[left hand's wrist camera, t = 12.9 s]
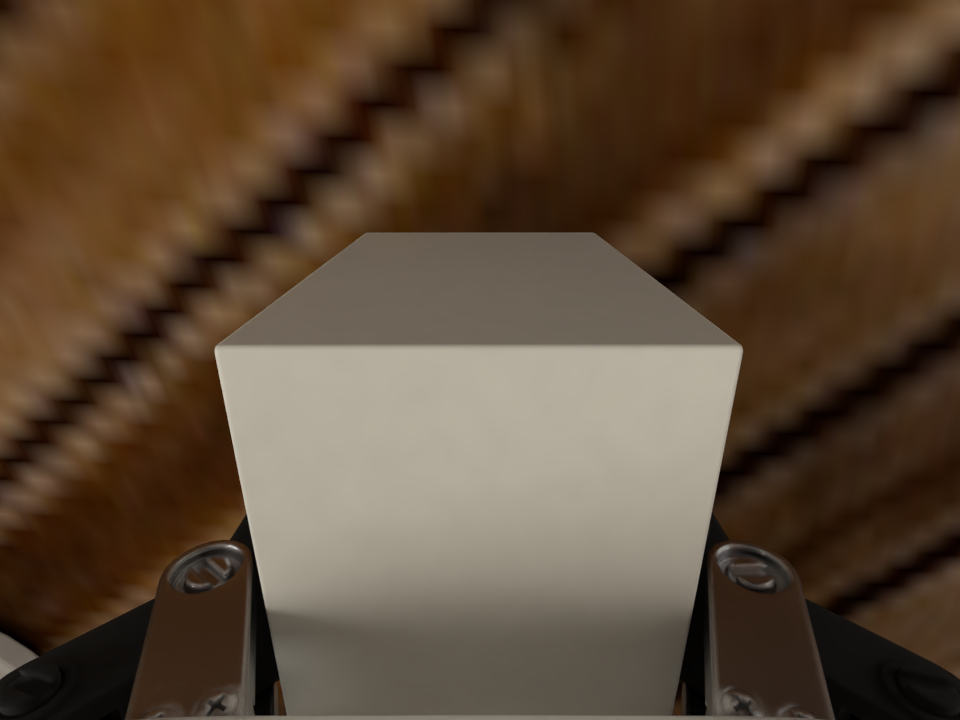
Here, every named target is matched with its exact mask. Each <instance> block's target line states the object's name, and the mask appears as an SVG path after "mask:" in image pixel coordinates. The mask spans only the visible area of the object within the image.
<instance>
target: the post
mask: <svg viewBox="0 0 960 720" xmlns="http://www.w3.org/2000/svg"><path fill="white" fill-rule="evenodd" d="M742 354H743V349H742V346H741V345H740V344H739V343H738V342H736V341H735V340H734V339H732V338H731V337H730V336H728V335H727V334H726V333H725V332H723V331H722V330H721V329H719V328H718V327H717V326H715V325H714V324H713V323H711V322H710V321H709V320H708V319H706V318H705V317H704V316H702V315H701V314H700V313H698V312H697V311H696V310H694V309H693V308H692V307H691V306H689V305H688V304H687V303H685V302H684V301H683V300H681V299H680V298H679V297H677V296H676V295H675V294H674V293H672V292H671V291H670V290H668V289H667V288H666V287H664V286H663V285H662V284H660V283H659V282H658V281H657V280H655V279H654V278H653V277H651V276H650V275H649V274H647V273H646V272H645V271H643V270H642V269H641V268H640V267H638V266H637V265H636V264H634V263H633V262H632V261H630V260H629V259H628V258H627V257H625V256H624V255H623V254H621V253H620V252H619V251H617V250H616V249H615V248H613V247H612V246H611V245H610V244H608V243H607V242H606V241H604V240H603V239H602V238H600V237H599V236H598V235H596V234H595V233H365V234H364V235H363V236H361V237H360V238H359V239H357V240H356V241H355V242H353V243H352V244H351V245H349V246H348V247H347V248H345V249H344V250H343V251H341V252H340V253H339V254H337V255H336V256H335V257H333V258H332V259H331V260H329V261H328V262H327V263H325V264H324V265H323V266H321V267H320V268H319V269H317V270H316V271H315V272H313V273H312V274H311V275H309V276H308V277H307V278H305V279H304V280H303V281H301V282H300V283H299V284H297V285H296V286H295V287H293V288H292V289H291V290H289V291H288V292H287V293H286V294H284V295H283V296H282V297H280V298H279V299H278V300H276V301H275V302H274V303H272V304H271V305H270V306H268V307H267V308H266V309H264V310H263V311H262V312H260V313H259V314H258V315H256V316H255V317H254V318H252V319H251V320H250V321H248V322H247V323H246V324H244V325H243V326H242V327H240V328H239V329H238V330H236V331H235V332H234V333H232V334H231V335H230V336H228V337H227V338H226V339H224V340H223V341H222V342H220V343H219V344H218V345H216V347H215V356H216V361H217V366H218V372H219V377H220V382H221V387H222V392H223V397H224V402H225V407H226V412H227V417H228V422H229V427H230V432H231V437H232V442H233V447H234V452H235V457H236V462H237V467H238V472H239V477H240V482H241V487H242V492H243V497H244V502H245V507H246V512H247V517H248V522H249V527H250V532H251V537H252V542H253V547H254V552H255V557H256V562H257V567H258V572H259V577H260V582H261V587H262V593H263V598H264V603H265V608H266V613H267V618H268V623H269V628H270V633H271V638H272V643H273V648H274V653H275V658H276V663H277V668H278V673H279V678H280V683H281V688H282V693H283V698H284V703H285V708H286V713H287V716H392V715H569V716H672V714H673V709H674V703H675V698H676V693H677V688H678V683H679V678H680V673H681V667H682V662H683V657H684V652H685V647H686V642H687V637H688V632H689V626H690V621H691V616H692V611H693V606H694V601H695V596H696V590H697V585H698V580H699V575H700V570H701V565H702V560H703V555H704V549H705V544H706V539H707V534H708V529H709V524H710V519H711V514H712V508H713V503H714V498H715V493H716V488H717V483H718V478H719V472H720V467H721V462H722V457H723V452H724V447H725V442H726V437H727V431H728V426H729V421H730V416H731V411H732V406H733V401H734V395H735V390H736V385H737V380H738V375H739V370H740V365H741V360H742Z"/></svg>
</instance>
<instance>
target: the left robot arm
mask: <svg viewBox="0 0 960 720" xmlns="http://www.w3.org/2000/svg"><path fill="white" fill-rule="evenodd" d="M679 679H680V680H681V681H683V685H682V716H569V715H392V716H278V685H277V681H278V680H280V678H279V673H278V668H277V663H276V658H275V653H274V648H273V643H272V638H271V633H270V628H269V623H268V618H267V613H266V608H265V603H264V598H263V593H262V587H261V582H260V577H259V572H258V567H257V562H256V557H255V552H254V547H253V542H252V537H251V532H250V527H249V522H248V517H247V514H246V516H245V517H244V519H243V521H242V522H241V524H240V525H239V527H238V528H237V530H236V532H235V533H234V535H233V536H232V538H231V539H230V540H219V541H211V542H208V543H205V544H201V545H198V546H196V547H194V548H192V549H190V550H188V551H186V552H184V553H182V554H181V555H180V556H178V557H177V558H175V559H174V560H173V561H172V562H171V563H170V564H169V565H168V566H167V567H166V568H165V570H164V572H163V574H162V576H161V578H160V581H159V585H158V589H157V593H156V597H155V599H153V600H151V601H149V602H147V603H145V604H143V605H141V606H139V607H137V608H135V609H133V610H131V611H129V612H127V613H125V614H123V615H121V616H119V617H117V618H115V619H113V620H111V621H109V622H107V623H105V624H103V625H101V626H99V627H97V628H95V629H93V630H91V631H89V632H87V633H85V634H83V635H81V636H79V637H77V638H75V639H73V640H71V641H69V642H67V643H65V644H63V645H61V646H59V647H57V648H55V649H53V650H51V651H49V652H47V653H45V654H43V655H41V656H38V655H36V654H35V653H34V652H33V651H32V650H30V649H29V648H27V647H25V646H24V645H22V644H21V643H19V642H17V641H16V640H14V639H13V638H11V637H9V636H8V635H6V634H4V633H2V632H0V720H960V680H959V679H958V678H957V677H956V676H954V675H953V674H951V673H950V672H948V671H946V670H945V669H943V668H941V667H940V666H938V665H936V664H935V663H933V662H931V661H929V660H927V659H925V658H923V657H921V656H919V655H917V654H915V653H913V652H911V651H909V650H907V649H905V648H903V647H901V646H899V645H897V644H895V643H893V642H891V641H889V640H887V639H885V638H883V637H881V636H879V635H877V634H875V633H873V632H871V631H869V630H867V629H865V628H863V627H861V626H859V625H857V624H855V623H853V622H851V621H849V620H847V619H845V618H843V617H841V616H839V615H837V614H835V613H833V612H831V611H829V610H827V609H825V608H823V607H821V606H819V605H817V604H815V603H813V602H811V601H809V600H807V599H805V597H804V593H803V589H802V585H801V581H800V578H799V576H798V574H797V572H796V570H795V568H794V567H793V566H792V565H791V564H790V563H789V562H788V561H787V560H786V559H785V558H783V557H782V556H780V555H779V554H778V553H776V552H774V551H772V550H770V549H768V548H766V547H764V546H762V545H759V544H755V543H752V542H749V541H741V540H729V538H728V537H727V535H726V534H725V532H724V531H723V529H722V527H721V526H720V524H719V523H718V521H717V520H716V518H715V516H714V515H713V513H712V514H711V519H710V524H709V529H708V534H707V539H706V544H705V549H704V555H703V560H702V565H701V570H700V575H699V580H698V585H697V590H696V596H695V601H694V606H693V611H692V616H691V621H690V626H689V632H688V637H687V642H686V647H685V652H684V657H683V662H682V667H681V673H680V678H679Z"/></svg>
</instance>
